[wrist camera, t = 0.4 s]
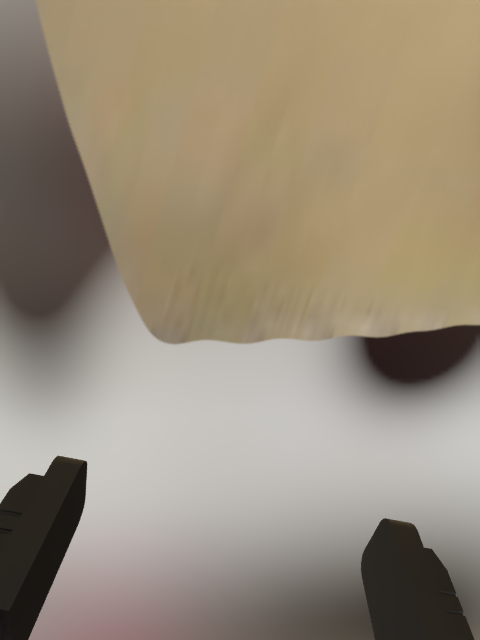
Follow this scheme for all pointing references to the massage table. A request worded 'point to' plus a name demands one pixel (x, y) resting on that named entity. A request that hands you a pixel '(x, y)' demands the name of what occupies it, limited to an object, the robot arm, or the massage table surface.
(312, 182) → the massage table surface
